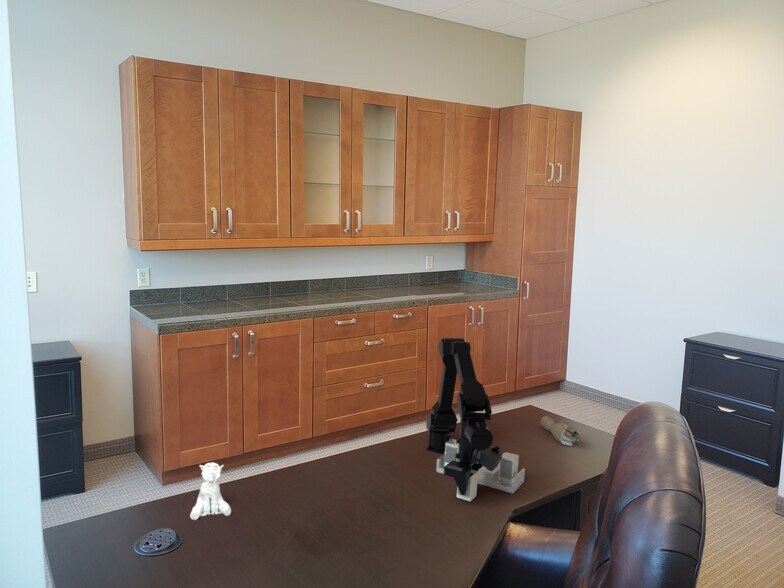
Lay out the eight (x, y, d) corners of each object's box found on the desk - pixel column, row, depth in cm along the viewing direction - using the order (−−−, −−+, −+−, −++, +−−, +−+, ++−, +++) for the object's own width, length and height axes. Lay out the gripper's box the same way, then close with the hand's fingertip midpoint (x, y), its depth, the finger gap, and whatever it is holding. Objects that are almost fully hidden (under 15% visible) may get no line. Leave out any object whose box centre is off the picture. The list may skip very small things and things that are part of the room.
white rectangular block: (455, 498, 163) (457, 473, 162) (462, 491, 167) (464, 467, 166) (469, 502, 161) (471, 477, 160) (476, 495, 165) (478, 471, 164)
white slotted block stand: (436, 471, 179) (438, 444, 178) (449, 461, 187) (451, 435, 186) (513, 493, 167) (515, 463, 166) (523, 482, 175) (526, 453, 174)
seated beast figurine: (190, 521, 144) (190, 473, 143) (188, 504, 152) (188, 459, 151) (231, 516, 148) (231, 468, 146) (227, 500, 156) (227, 455, 154)
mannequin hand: (556, 435, 222) (582, 455, 197) (537, 429, 221) (561, 449, 196) (562, 416, 222) (589, 434, 197) (543, 410, 221) (568, 428, 196)
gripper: (485, 453, 150) (481, 513, 152) (511, 432, 166) (507, 487, 168) (444, 443, 155) (440, 501, 157) (473, 423, 171) (469, 476, 173)
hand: (466, 491), depth 164 cm, fingers closed on white rectangular block, 4 cm apart
